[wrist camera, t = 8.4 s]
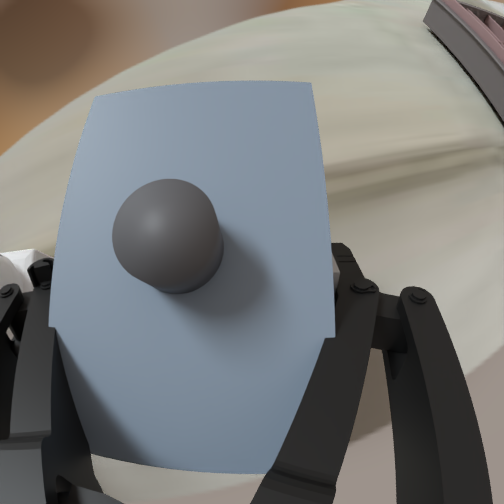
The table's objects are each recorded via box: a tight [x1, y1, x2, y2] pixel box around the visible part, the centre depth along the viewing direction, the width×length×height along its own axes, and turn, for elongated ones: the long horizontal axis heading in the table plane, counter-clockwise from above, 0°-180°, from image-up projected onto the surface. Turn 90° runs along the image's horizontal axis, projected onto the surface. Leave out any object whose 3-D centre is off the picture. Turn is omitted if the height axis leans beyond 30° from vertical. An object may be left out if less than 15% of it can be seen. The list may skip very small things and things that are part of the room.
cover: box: [49, 81, 335, 474], centre depth 13 cm, size 8×12×13 cm, turn 0°
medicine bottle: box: [0, 249, 54, 340], centre depth 19 cm, size 7×7×12 cm
